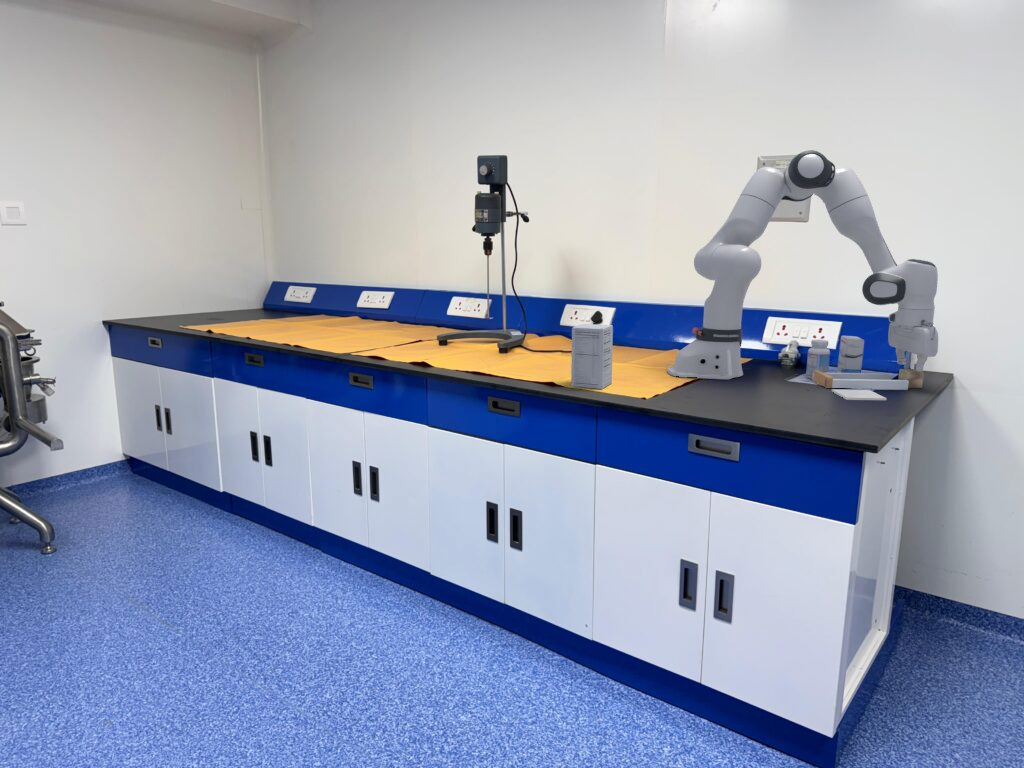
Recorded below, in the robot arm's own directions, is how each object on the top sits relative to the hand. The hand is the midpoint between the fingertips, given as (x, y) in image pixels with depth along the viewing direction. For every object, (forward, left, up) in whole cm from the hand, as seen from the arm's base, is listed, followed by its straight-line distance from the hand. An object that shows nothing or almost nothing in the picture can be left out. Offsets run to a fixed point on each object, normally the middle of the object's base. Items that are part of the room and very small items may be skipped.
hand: (909, 367), depth 198 cm
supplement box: (-90, -6, -6) cm, 90 cm away
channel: (-14, -1, -5) cm, 15 cm away
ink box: (-11, +13, -6) cm, 18 cm away
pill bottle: (-22, +9, -6) cm, 24 cm away
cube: (0, 0, -5) cm, 5 cm away
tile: (-20, -15, -5) cm, 25 cm away
